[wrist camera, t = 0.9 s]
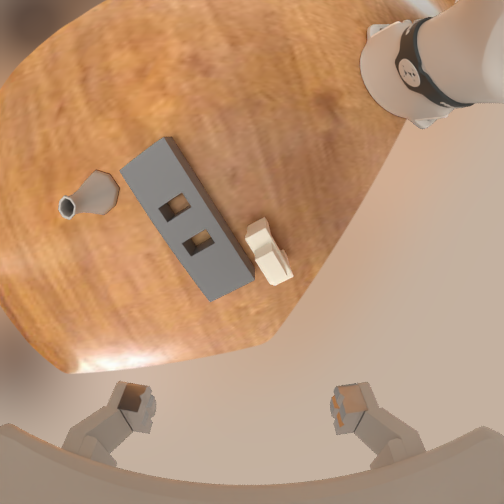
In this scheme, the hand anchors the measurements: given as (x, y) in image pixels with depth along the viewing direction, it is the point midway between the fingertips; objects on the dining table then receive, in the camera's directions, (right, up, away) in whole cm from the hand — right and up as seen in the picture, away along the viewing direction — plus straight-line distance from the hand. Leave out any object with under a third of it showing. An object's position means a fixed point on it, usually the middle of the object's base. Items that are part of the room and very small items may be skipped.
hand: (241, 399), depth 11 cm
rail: (-9, +11, +30) cm, 34 cm away
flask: (-24, +16, +29) cm, 41 cm away
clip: (+3, +8, +32) cm, 33 cm away
